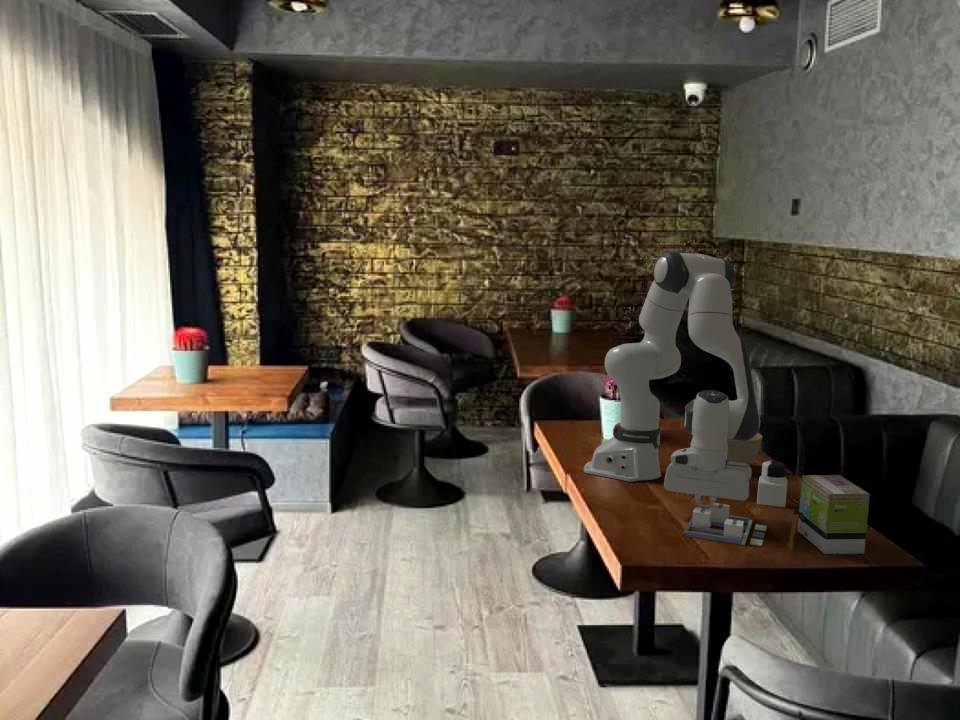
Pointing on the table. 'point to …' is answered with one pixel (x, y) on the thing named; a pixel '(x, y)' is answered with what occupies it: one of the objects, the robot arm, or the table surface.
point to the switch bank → (723, 538)
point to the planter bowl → (744, 449)
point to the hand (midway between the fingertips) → (704, 512)
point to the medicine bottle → (772, 484)
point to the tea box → (833, 514)
